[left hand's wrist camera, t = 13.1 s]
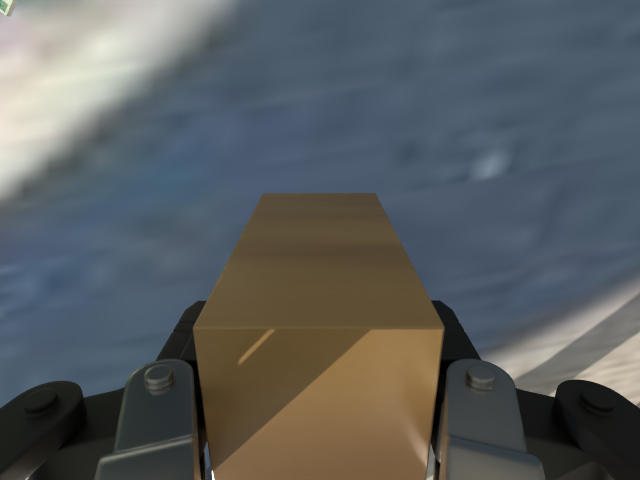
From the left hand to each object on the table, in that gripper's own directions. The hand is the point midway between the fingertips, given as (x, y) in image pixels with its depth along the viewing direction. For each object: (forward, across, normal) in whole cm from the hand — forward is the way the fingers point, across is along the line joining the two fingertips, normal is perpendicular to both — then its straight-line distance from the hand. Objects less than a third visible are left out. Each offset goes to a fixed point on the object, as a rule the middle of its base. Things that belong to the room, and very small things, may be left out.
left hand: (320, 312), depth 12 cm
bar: (+5, 0, -10) cm, 11 cm away
